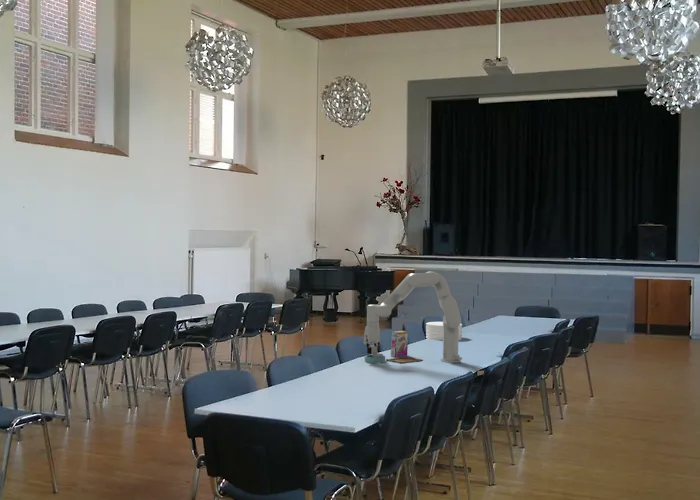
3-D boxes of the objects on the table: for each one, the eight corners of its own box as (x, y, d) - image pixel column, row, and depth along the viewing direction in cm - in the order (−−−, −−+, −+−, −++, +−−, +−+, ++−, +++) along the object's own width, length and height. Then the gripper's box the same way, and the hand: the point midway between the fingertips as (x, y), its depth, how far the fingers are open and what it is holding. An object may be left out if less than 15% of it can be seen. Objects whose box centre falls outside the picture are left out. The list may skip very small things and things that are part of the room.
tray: (422, 361, 473) (422, 359, 473) (401, 364, 461) (401, 362, 461) (406, 358, 484) (406, 356, 484) (386, 361, 472) (386, 359, 472)
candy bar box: (395, 357, 486) (396, 332, 486) (390, 356, 490) (390, 331, 490) (408, 356, 494) (408, 331, 493) (402, 355, 497) (403, 330, 497)
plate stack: (443, 335, 607) (443, 320, 607) (469, 338, 586) (469, 324, 586) (418, 337, 589) (418, 323, 589) (444, 341, 568) (445, 326, 568)
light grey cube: (382, 361, 468) (382, 354, 468) (377, 362, 465) (377, 354, 465) (378, 360, 471) (378, 353, 471) (372, 361, 468) (372, 353, 468)
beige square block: (377, 353, 471) (377, 346, 471) (371, 354, 469) (372, 346, 469) (372, 352, 475) (372, 345, 475) (367, 353, 472) (367, 345, 472)
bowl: (388, 362, 469) (389, 356, 469) (374, 363, 461) (374, 358, 461) (375, 359, 479) (375, 353, 479) (360, 361, 471) (360, 355, 471)
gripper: (378, 322, 480) (378, 351, 480) (358, 324, 469) (358, 353, 469) (386, 324, 474) (386, 352, 474) (366, 325, 463) (366, 355, 463)
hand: (372, 353), depth 472 cm, fingers closed on beige square block, 4 cm apart
